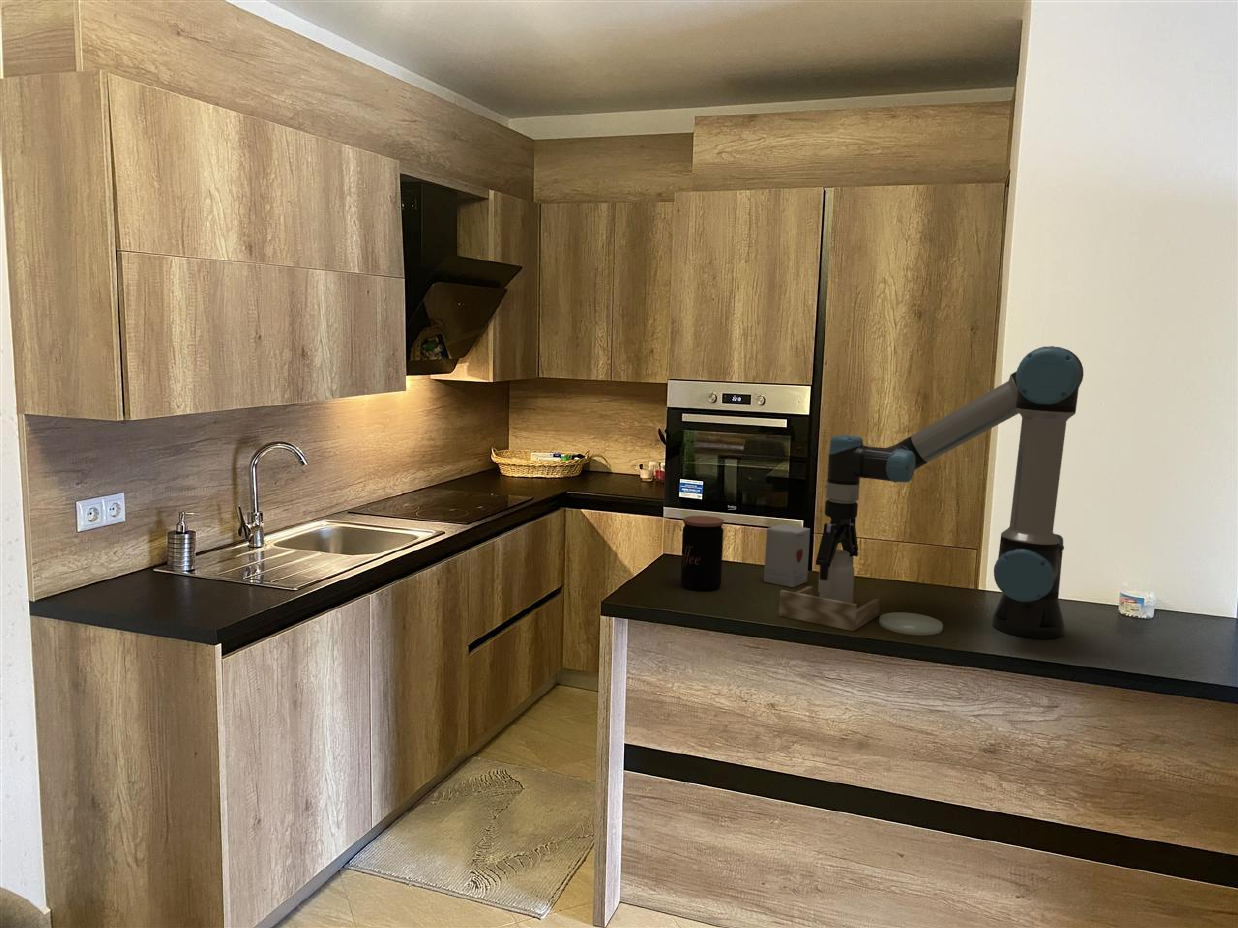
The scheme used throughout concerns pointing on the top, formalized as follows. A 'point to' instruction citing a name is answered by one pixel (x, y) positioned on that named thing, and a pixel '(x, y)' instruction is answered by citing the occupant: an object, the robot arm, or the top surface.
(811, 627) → the top surface
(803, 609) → the oak stall
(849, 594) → the pill bottle
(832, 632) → the top surface
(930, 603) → the top surface
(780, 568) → the supplement box
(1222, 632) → the top surface
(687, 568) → the coffee jar
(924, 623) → the sage coaster
